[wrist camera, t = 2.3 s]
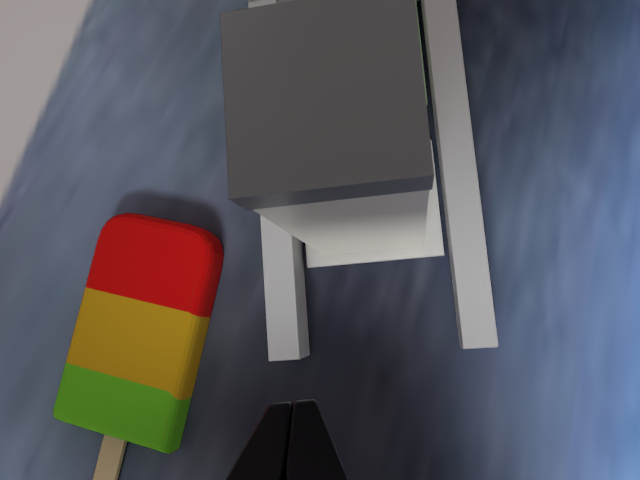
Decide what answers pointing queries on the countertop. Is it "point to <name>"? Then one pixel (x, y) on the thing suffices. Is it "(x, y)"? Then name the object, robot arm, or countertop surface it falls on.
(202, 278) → the popsicle
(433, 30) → the frame
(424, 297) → the countertop surface
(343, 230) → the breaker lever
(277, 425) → the robot arm
